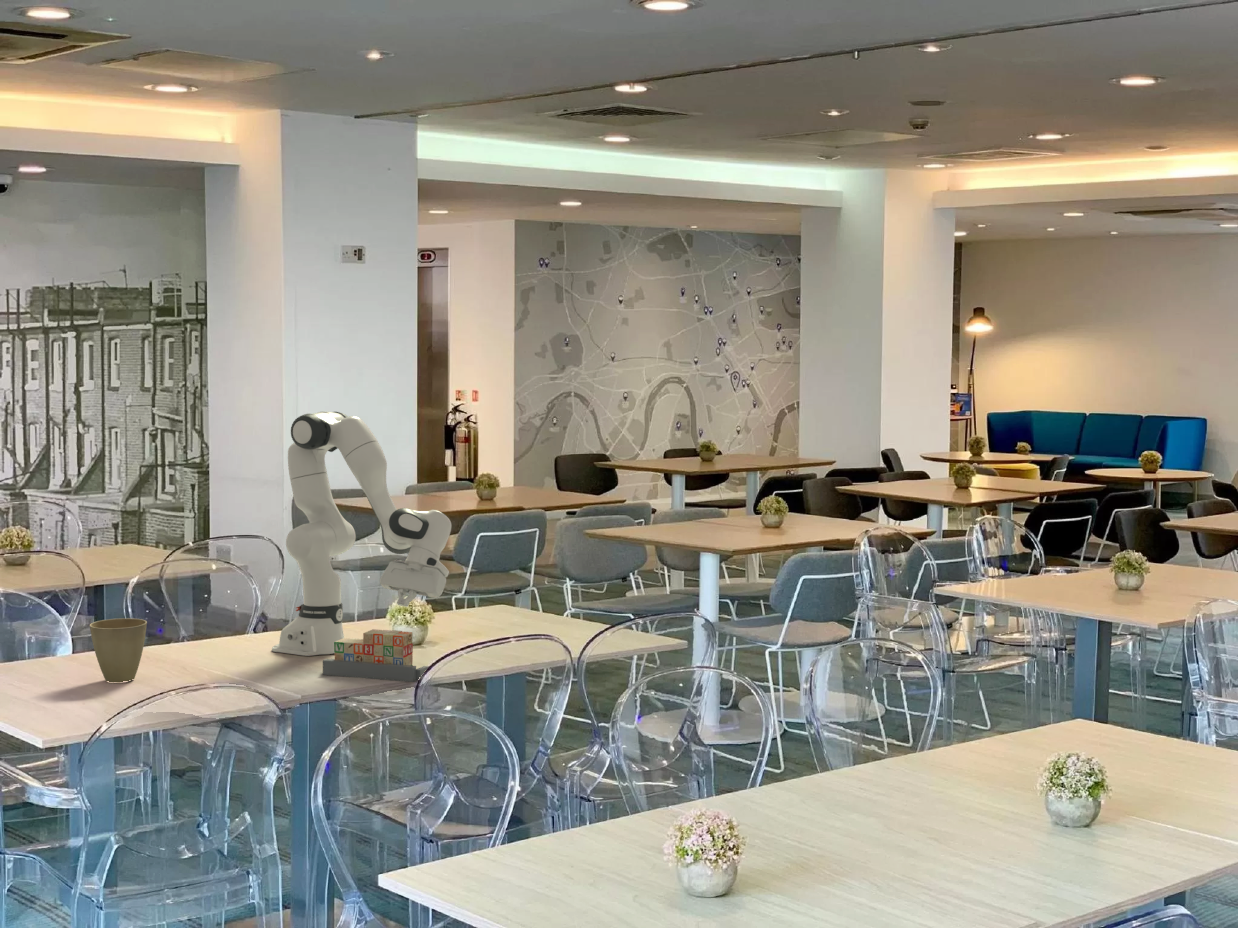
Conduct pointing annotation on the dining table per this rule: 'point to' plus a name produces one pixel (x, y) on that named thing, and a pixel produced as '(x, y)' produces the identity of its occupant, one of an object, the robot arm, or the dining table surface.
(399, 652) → the stack of blocks
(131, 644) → the plant pot
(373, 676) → the frame
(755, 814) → the dining table surface
